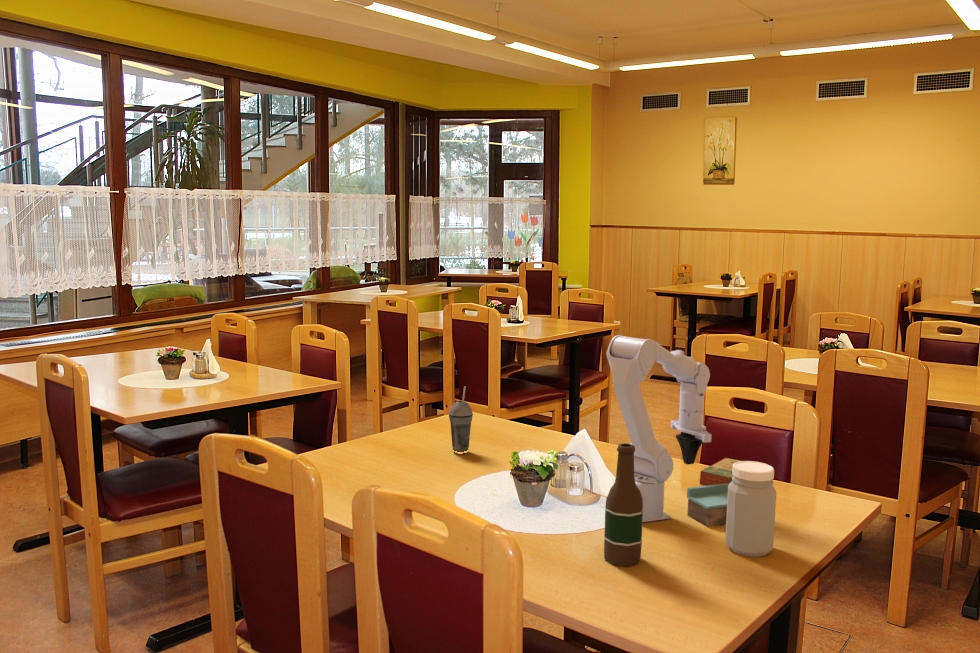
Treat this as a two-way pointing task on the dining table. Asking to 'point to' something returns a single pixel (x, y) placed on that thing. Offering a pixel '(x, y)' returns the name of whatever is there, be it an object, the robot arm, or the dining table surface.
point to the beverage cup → (460, 424)
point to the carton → (718, 473)
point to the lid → (709, 495)
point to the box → (707, 514)
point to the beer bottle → (624, 513)
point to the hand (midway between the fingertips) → (688, 463)
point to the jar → (751, 509)
